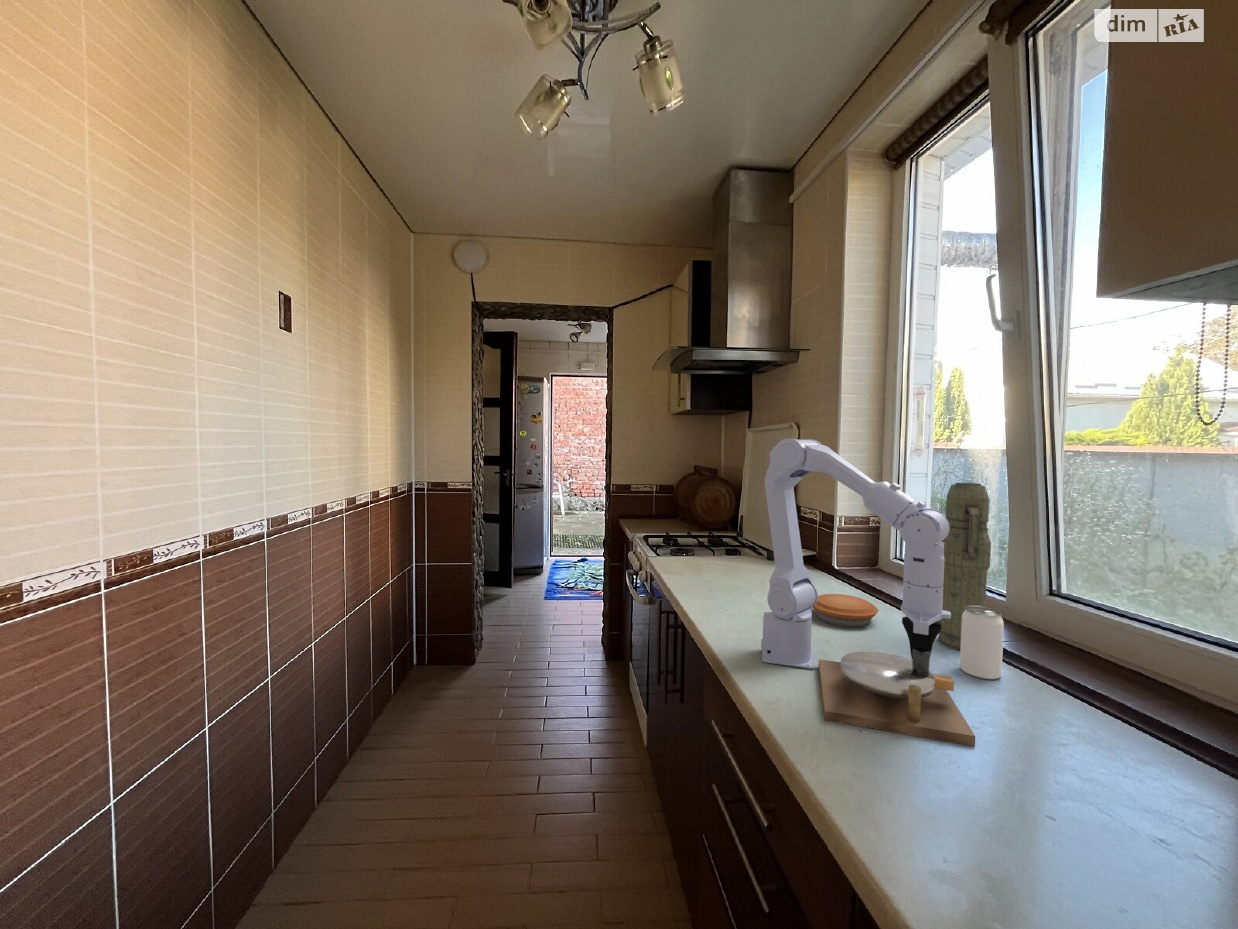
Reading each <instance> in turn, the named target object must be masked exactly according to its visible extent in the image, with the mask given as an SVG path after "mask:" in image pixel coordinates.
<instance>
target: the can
mask: <svg viewBox="0 0 1238 929" xmlns="http://www.w3.org/2000/svg"><path fill="white" fill-rule="evenodd" d="M1004 626H1005V624H1004V619H1003V617H1002V612H1000V611H999V610H996V609H993V608H990V607H981V606H967V607H965V611H964V613H963V614H962V624H961V648H960V650H959V651H960V652H959V656H960V657H959V668H960V670H962V672H963V673H965V674H967V675H969V676H971V677H973V678H977V679H982V680H988V681H989V680H990V681H994V680H998V679H1000V678H1001V677H1002V674H1003V672H1002V670H1003V649H1004V630H1005V629H1004V628H1005V627H1004Z"/></svg>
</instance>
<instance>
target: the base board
mask: <svg viewBox="0 0 1238 929" xmlns="http://www.w3.org/2000/svg"><path fill="white" fill-rule="evenodd" d="M818 674H819V682H820V689H821V691H822V692H821V698H822V707H823V708H824V709H823V716H824V720H825V722H826V721H827V722H833V723H838V722H842V723H841V724H844V723H845V724H846V725H849V724H851V725H850V726H854V727H856V726H857V727H861V726H865V727H864V728H867V727H869V728H868V729H872V728H874V730H878V729H881V730H880V731H884V730H886V731H885V732H889V733H891V732H892V733H895V732H898V733H897V734H901V733H902V735H908V736H915V737H919V738H926V739H929V740H937V741H941V742H942V741H943V742H946V743H954V744H960V745H965V746H972V747H975V746H976V735H975V733H974V732H973V730H972V728H971V726H969V724H968V722H967V720H966V719H965V717H964V716H963V714H962V712H961V710H960V709H959V708H958V706H957V705H956V703H955V701H954V700H953V697H951V695H950V693H949V691H948V690H943V689H937V688H935V690H934V692H933V693H932V694H931V695H929V696H926V697H922V698H921V688H920V687H919V686H916V685H909V697H908V698H896V697H890V696H885V695H881V694H877V693H874V692H871V691H868V690H865V689H863V688H861V687H858V686H856V685H855V684H853V683H851V682H850V681H848V680H847V679H846V678H845V677H844V676H843V675H842V673H841V661H834V660H826V659H820V658H819V659H818ZM845 724H844V725H845Z"/></svg>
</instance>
